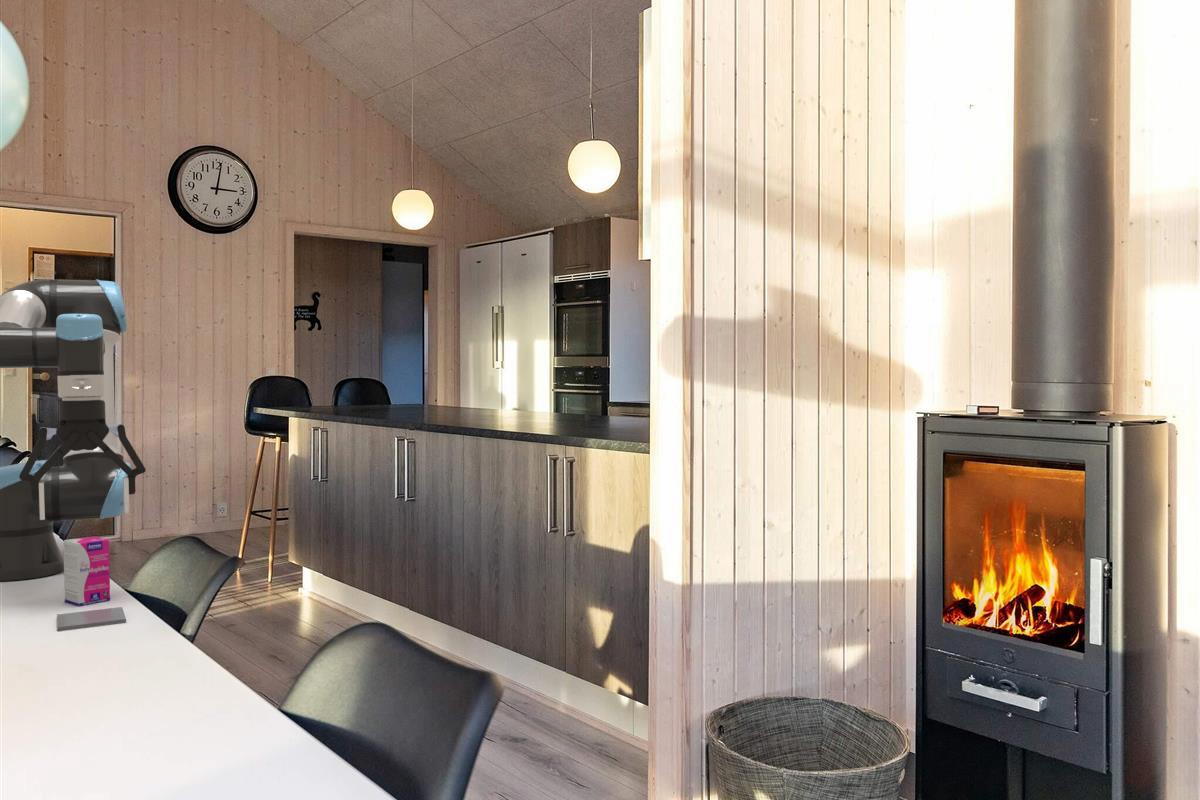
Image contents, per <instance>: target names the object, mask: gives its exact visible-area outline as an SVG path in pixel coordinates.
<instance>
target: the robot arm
mask: <svg viewBox="0 0 1200 800" xmlns="http://www.w3.org/2000/svg"><path fill="white" fill-rule="evenodd" d="M122 294H123V293H122V290H121V286H120V285H119V284H118V283H117V282H115V281H111V280H110V281H109V280H100V279H95V280H93V279H53V278H52V279H50V278H42V279H41V278H40V279H33V280H31V281H30V280H29V281H26V282H22V283H20V284H17V285H15V286H13V287H11V288H9V289H7V290H6V291H4V292H3V293H1V295H0V369H14V368H15V369H16V368H17V369H18V368H19V369H20V368H57V397H59V398H61V399H60V401H59V402H58V406H57V407H58V426H57V428H54V427H53V428H52V427H46V426H41V427H40V428H39V430H38V431H39V433H38V440H37V441H36V444H35V445H34V447H33V448H32V451H31V452H30V454H29V457H28V458H27V461H26V462H21V463H14V464H11V465H10V464H8V465H5V466H0V582H5V581H6V582H7V581H21V580H29V579H36V578H42V577H48V576H51V575H56V574H58V573H61V572H64V556H63V555H62V553H61V550H60V547H59V545H58V543H57V541H56V538H55V535H54V522H67V521H79V520H80V521H83V520H97V519H99V520H104V519H108V518H116V517H120V516H122V515H123V514H130V496H131V495H135V494H136V477H137V476H138V475H141V474H144V473H146V467H145V465H144V464H143V462H142V461H141V459H140V457H139V456H138V454H137V452H136V450H135V449H134V447H133V446H132V444H131V442H130V440H129V439H128V437H127V433H126V427H125V425H124V424H122V423H119V424H117V425H116V420H115V419H116V412H115V381H114V380H115V375H114V374H115V372H114V371H115V370H114V369H115V367H114V346H115V345H116V344H118V343H119V341H121V334H123V333H125V332H127V330H128V325H127V318H126V311H125V303H124V299H123V295H122ZM54 435H56V436H57V437H58V438H59V440H61V441H62V443H61V444H59V446H58V447H57V448H56V450H55V451H54V452H53V453H52V454H51V455H50V456H49V457H48V458H47V459H43V460H37V459H38V458H39V456H40V454H41V452H42V450H43V448H44V446H45V445H46V442H47V441H49V440H51V439H52V437H53V436H54ZM116 438H118V440H119V442H120V443H121V444H122V446H123V448H124V450H125V451H126V454H127V455H128V457H129V458H130V460H131V462H132V463H133V465H134V466H135V468H133V469H132V465H131V463H130V462H127V461H125V460H124V453H122V452H120V451H119V450H118V449H117V447H116ZM68 449H69V451H68ZM67 451H68V452H67ZM66 452H67V453H66ZM65 453H66V454H65ZM64 454H65V455H64ZM63 455H64V456H63ZM62 456H63V457H62ZM61 457H62V458H63V464H62V465H60V466H54V465H55V463H57V461H58V460H59V459H60V458H61Z"/></svg>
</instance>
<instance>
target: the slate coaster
mask: <svg viewBox="0 0 1200 800" xmlns="http://www.w3.org/2000/svg"><path fill="white" fill-rule="evenodd" d="M125 623H127V618H126V615H125V612H124V608H123V606H118V607H111V608H109V607H108V608H101V609H100V608H99V609H94V610H84V611H75V612H67V613H58V614H56V624H57V625H56V626H57V628H56V629H57V630H56V631H57V632H61V631H69V630H76V629H78V630H79V629H85V628H94V627H101V626H109V625H117V624H125Z"/></svg>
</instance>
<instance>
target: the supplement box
mask: <svg viewBox="0 0 1200 800" xmlns="http://www.w3.org/2000/svg"><path fill="white" fill-rule="evenodd" d="M63 561H64V570H63V580H64V581H63V582H64V584H63V585H64V590H63V591H64V592H63V593H64V595H63V596H64V603H65V604H70V605H72V606H76V607H81V606H85V605H90V604H91V605H92V604H96V603H102V602H109V601H111V587H110V586H111V580H110V579H111V577H110V576H111V575H110V574H111V573H110V570H111V569H110V566H111V565H110V562H111V561H110V539H108V538H103V537H99V536H93V535H92V536H86V537H80V538H79V537H77V538H72V539H71V538H70V539H64V540H63Z"/></svg>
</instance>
